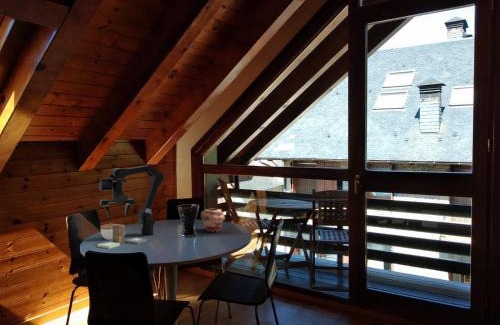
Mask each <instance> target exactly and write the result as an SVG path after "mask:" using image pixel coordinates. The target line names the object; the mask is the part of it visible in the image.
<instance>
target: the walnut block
mask: <svg viewBox="0 0 500 325" xmlns="http://www.w3.org/2000/svg"><path fill="white" fill-rule="evenodd" d="M116 224H117V223H116ZM112 227H113V240H112V242H115V243H120V245H122V244H125V243H126V239H125V238H126V237H125V236H126V233H125V228H126V227H125V224H119V223H118V224H117V225H113V226H112Z"/></svg>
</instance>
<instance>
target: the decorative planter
mask: <svg viewBox="0 0 500 325" xmlns="http://www.w3.org/2000/svg"><path fill="white" fill-rule="evenodd" d="M200 218H201V220H202V223H203V224H204V228H205V230H206V231H207V232H211V231H212V233H213V232H214V231H216V232H220V231H222V229H223V222H224V221H225V220H226V217H225V215H224V213H223V210H222V209H221V208H220V209H219V208H216V207H213V208H207V209H206V208H205V209H204V210H203V211H201V212H200ZM214 233H215V232H214Z"/></svg>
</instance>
